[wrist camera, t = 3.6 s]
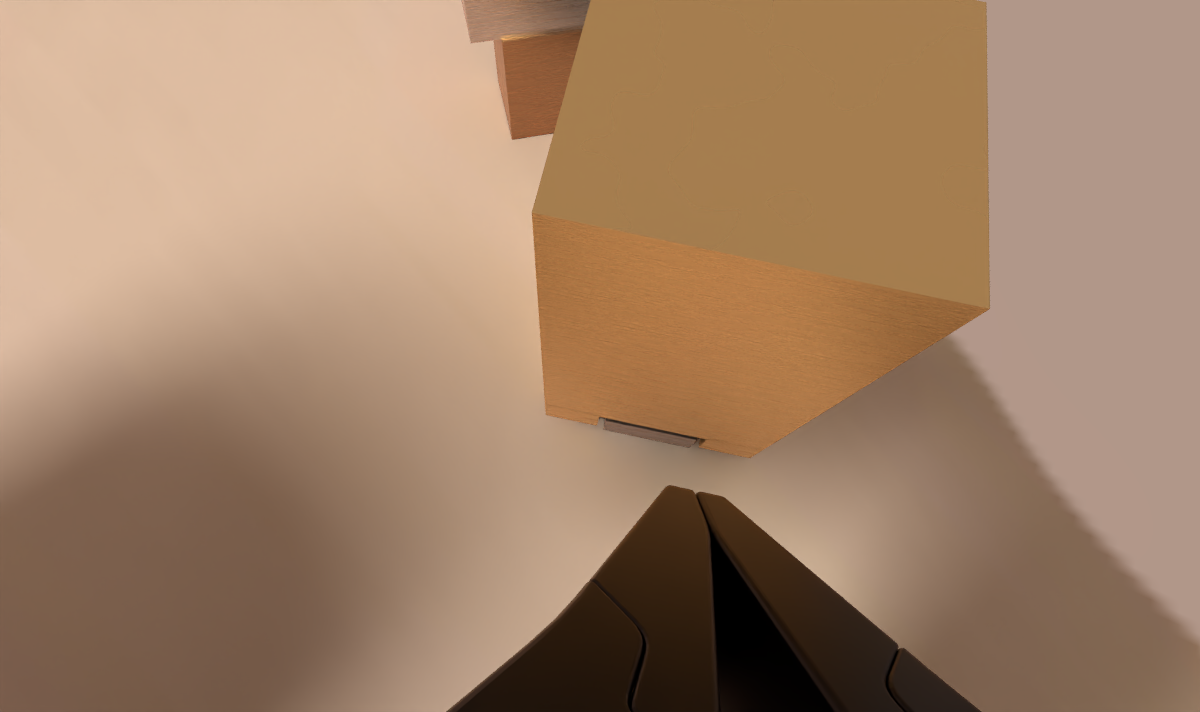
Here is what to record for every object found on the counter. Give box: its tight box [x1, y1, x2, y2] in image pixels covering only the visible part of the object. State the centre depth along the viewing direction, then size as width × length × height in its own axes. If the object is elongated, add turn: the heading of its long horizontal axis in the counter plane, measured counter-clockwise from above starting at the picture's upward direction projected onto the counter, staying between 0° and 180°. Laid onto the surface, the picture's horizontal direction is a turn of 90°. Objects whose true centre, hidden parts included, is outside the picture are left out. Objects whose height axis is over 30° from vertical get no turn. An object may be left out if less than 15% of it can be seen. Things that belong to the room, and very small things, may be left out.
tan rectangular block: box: [532, 0, 990, 458], centre depth 13 cm, size 5×6×10 cm
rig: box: [461, 0, 697, 448], centre depth 17 cm, size 13×9×6 cm, turn 169°
